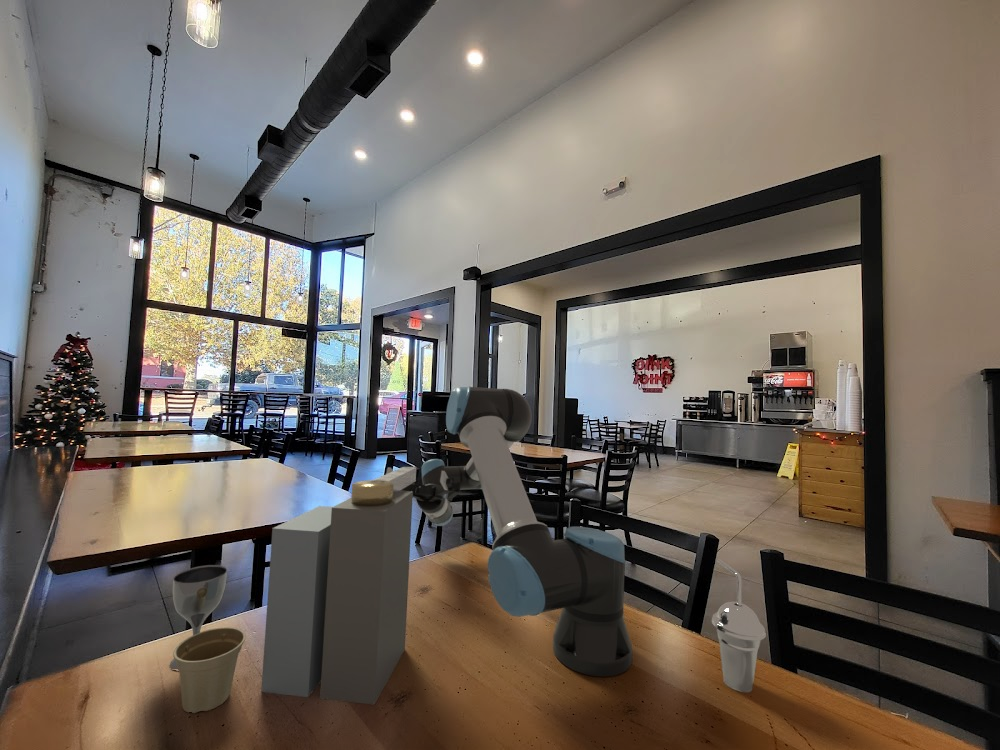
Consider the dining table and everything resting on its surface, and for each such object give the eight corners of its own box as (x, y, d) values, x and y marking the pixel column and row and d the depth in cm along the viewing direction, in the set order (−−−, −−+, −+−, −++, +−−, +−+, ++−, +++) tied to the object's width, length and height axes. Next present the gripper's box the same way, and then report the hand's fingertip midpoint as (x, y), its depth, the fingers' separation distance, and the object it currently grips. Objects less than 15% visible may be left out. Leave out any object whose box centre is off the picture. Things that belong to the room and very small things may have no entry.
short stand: (350, 643, 83) (357, 508, 84) (308, 697, 68) (318, 531, 69) (311, 639, 84) (319, 505, 85) (261, 691, 69) (272, 528, 70)
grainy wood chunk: (424, 481, 93) (425, 468, 94) (383, 507, 71) (384, 489, 71) (393, 479, 94) (394, 466, 94) (343, 504, 71) (344, 486, 72)
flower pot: (215, 724, 62) (220, 663, 62) (151, 721, 62) (157, 659, 62) (254, 682, 71) (258, 628, 71) (198, 678, 71) (203, 625, 72)
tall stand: (404, 649, 82) (412, 491, 83) (374, 704, 67) (384, 511, 69) (359, 644, 83) (368, 488, 84) (320, 698, 68) (331, 507, 69)
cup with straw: (718, 695, 72) (719, 574, 73) (705, 663, 81) (706, 556, 82) (774, 705, 70) (774, 581, 71) (754, 671, 79) (754, 562, 80)
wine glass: (226, 659, 76) (232, 574, 77) (171, 679, 71) (178, 587, 72) (214, 641, 82) (220, 561, 83) (162, 658, 76) (169, 572, 77)
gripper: (473, 517, 118) (463, 492, 100) (386, 510, 120) (361, 486, 102) (477, 490, 122) (467, 462, 104) (392, 484, 124) (369, 456, 107)
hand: (414, 474), depth 103 cm, fingers open, 13 cm apart
